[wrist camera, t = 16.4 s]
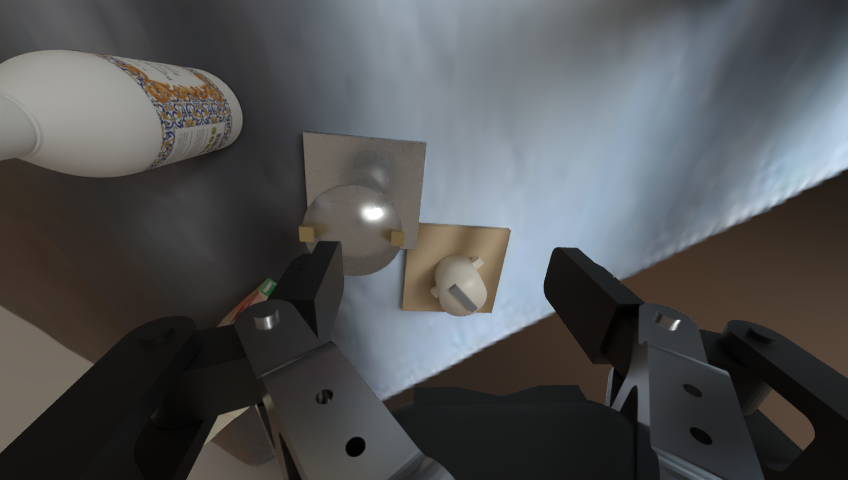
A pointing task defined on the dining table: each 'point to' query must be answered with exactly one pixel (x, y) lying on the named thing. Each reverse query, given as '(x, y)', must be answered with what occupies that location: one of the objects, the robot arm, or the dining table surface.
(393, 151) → the knob on square base
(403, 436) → the robot arm
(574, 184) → the dining table surface
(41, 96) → the bath foam
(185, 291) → the dining table surface
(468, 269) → the cap
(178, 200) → the dining table surface
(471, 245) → the coaster
